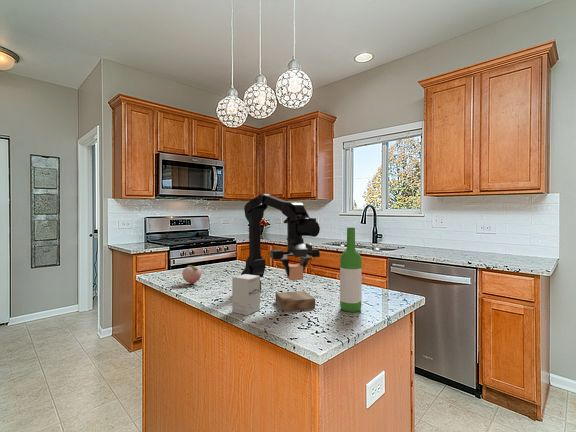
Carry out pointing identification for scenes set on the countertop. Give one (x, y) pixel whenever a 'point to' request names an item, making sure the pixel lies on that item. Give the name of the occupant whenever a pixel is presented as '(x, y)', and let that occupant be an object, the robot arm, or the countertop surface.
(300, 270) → the terracotta cube
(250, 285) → the supplement box
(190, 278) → the decorative fruit
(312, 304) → the walnut block
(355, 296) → the wine bottle
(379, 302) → the countertop surface
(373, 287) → the countertop surface
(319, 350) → the countertop surface
